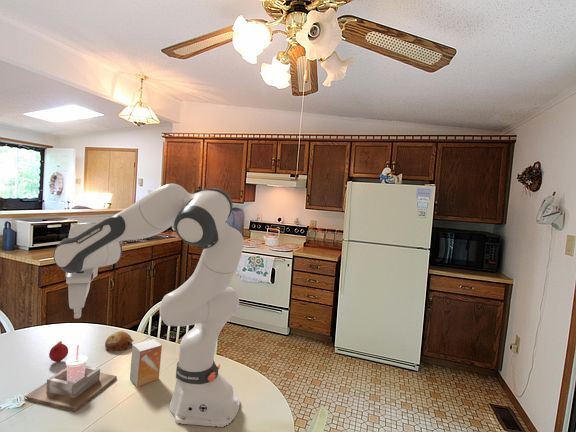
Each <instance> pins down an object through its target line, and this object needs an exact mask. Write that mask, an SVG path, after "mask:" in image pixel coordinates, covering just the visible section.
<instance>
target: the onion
mask: <svg viewBox="0 0 576 432" xmlns="http://www.w3.org/2000/svg"><path fill="white" fill-rule="evenodd" d="M56 343H57V344H54V345H53V347H51V348H50V350H49V353H48V357H49V359H50V360H51V361H53V362H56V363H60V362H62V361H63V360H64V359H65V358H66V357H67V356H68V355H69V348H68V346H67V345H66V344H64V343H63V341H61V340H60V341H58V342H56Z"/></svg>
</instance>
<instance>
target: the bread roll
mask: <svg viewBox="0 0 576 432" xmlns="http://www.w3.org/2000/svg"><path fill="white" fill-rule="evenodd" d="M133 342H134V339H133V337H132V336H131V335H130V334H129V333H128V332H126V331H123V330H118V331H116V332H113V333H112V334H110V335H109V336H108V337H107V338H106V340H105V342H104V347H105V349H106V350H107V351H110V352H123V351H126V350H128V349H130V347H132V346H133Z"/></svg>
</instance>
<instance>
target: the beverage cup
mask: <svg viewBox="0 0 576 432" xmlns="http://www.w3.org/2000/svg"><path fill="white" fill-rule="evenodd" d="M79 347H80V346H79V344H77V345H76V355H74V356H73V355H72V356H71V357H67V359H66V360H65V366H66V368H67V381H68V382H73V383H76V382H78V381H79V380H81V379H82V378H84V375H85V368H86V366H87V363H88V356H87V355H84V354H83V355H79Z"/></svg>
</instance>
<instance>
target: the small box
mask: <svg viewBox="0 0 576 432" xmlns="http://www.w3.org/2000/svg"><path fill="white" fill-rule="evenodd" d="M132 344H133V343H132ZM162 348H163V346H162V344H161V343H160V342H159V341H157V339H155V338H152V339H149V340H144V341H141V342H138V343H134V344H133V345H131V362H130V373H129V374H130V376H129V380H130V382H132V383H133V384H134V385H135V387H136V388H138V387H141V386H143V385H146V384H148V383H151V382H153V381H154V382H155V381H158V380H159V379H160V369H161V358H162V351H163V349H162Z"/></svg>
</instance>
